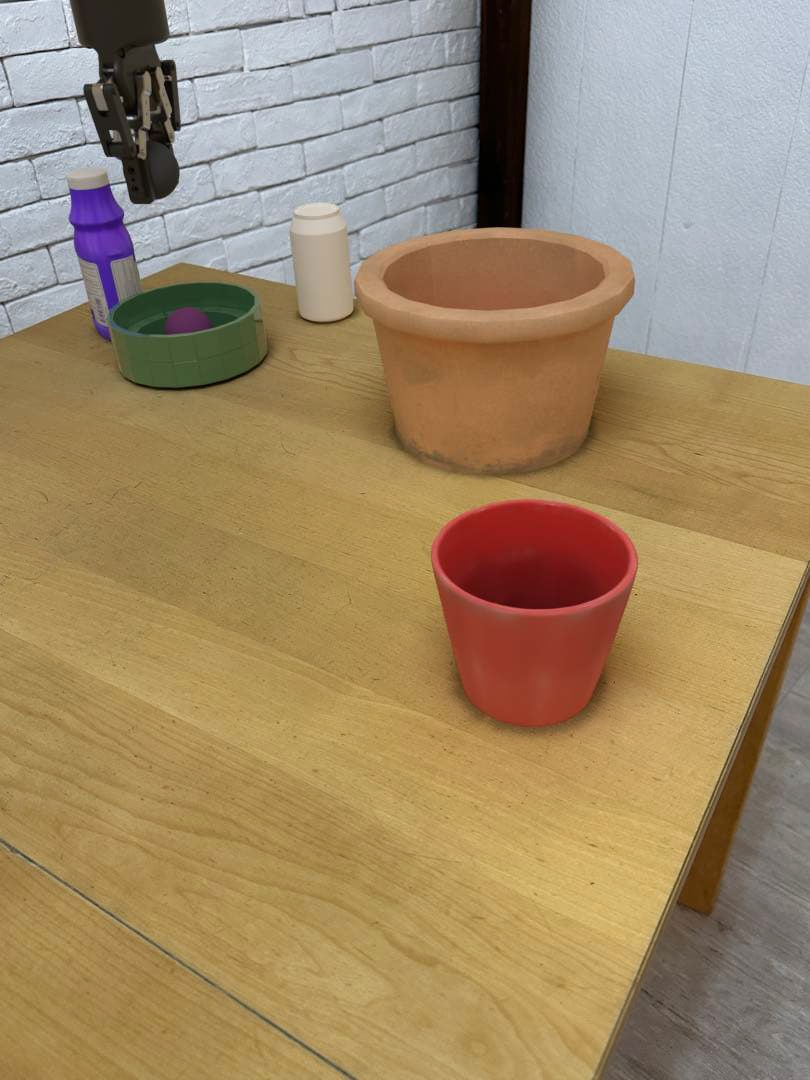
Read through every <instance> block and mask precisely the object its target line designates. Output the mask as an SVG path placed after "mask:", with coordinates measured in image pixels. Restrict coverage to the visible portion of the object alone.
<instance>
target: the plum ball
mask: <svg viewBox="0 0 810 1080" xmlns="http://www.w3.org/2000/svg"><path fill="white" fill-rule="evenodd" d="M211 328H213V325H212V322H211V320H210V319H209V318H208V316H207V315H206V314H205V313H203V312H202V311H200V310H198V309H195V308H190V307H186V308H180V309H178V310H176V311H174V312H173V313H172V314H171V315H170V316H169V317H168V319H167V321H166V323H165V326H164V335H173V334H183V333H193V332H198V331H202V330H207V329H211Z"/></svg>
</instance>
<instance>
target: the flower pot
mask: <svg viewBox="0 0 810 1080" xmlns="http://www.w3.org/2000/svg"><path fill="white" fill-rule="evenodd" d="M430 562H431V566H432V567H431V568H432V573H433V577H434V580H435V585H436V588H437V593H438V596H439V600H440V604H441V608H442V613H443V617H444V621H445V624H446V629H447V634H448V638H449V642H450V645H451V649H452V652H453V656H454V661H455V663H456V667H457V670H458V674H459V677H460V681H461V684H462V688H463V690H464V693H465V695H466V697H467V699H468V700H469V701H470V702H471V703H472V704H473V705H474V706H475V708H477V709H478V710H479V711H481V712H482V713H483V714H485V715H487V717H489V718H491V719H494V720H496V721H499V722H502V723H505V724H507V725H512V726H517V727H524V728H525V727H527V728H537V727H538V728H539V727H547V726H552V725H553V726H554V725H557V724H560V723H563V722H566V721H568V720H570V719H571V718H573V717H575V716H576V715H578V714H579V713H580V712H581V711H582V710H584V709H585V708H586V706H587V705H588V704H589V702H590V700H591V698H592V697H593V694H594V692H595V689H596V687H597V684H598V683H599V680H600V678H601V675H602V673H603V671H604V668H605V665H606V663H607V660H608V657H609V655H610V653H611V649H612V647H613V643H614V642H615V640H616V636H617V633H618V631H619V627H620V625H621V622H622V619H623V616H624V614H625V610H626V608H627V605H628V602H629V599H630V596H631V594H632V590H633V587H634V583H635V581H636V577H637V573H638V568H639V556H638V552H637V550H636V547H635V545H634V543H633V541H632V539H631V538H630V537H629V535H628V534H627V533H626V532H625V531H624V530H623V529H622V528H621V527H620V526H618V525H617V524H616V523H615V522H613V521H612V520H610V519H609V518H607V517H605V516H603V515H601V514H599V513H597V512H595V511H592V510H590V509H587V508H585V507H582V506H580V505H575V504H572V503H567V502H564V501H563V502H562V501H557V500H556V501H555V500H549V499H537V498H522V499H521V498H520V499H509V500H503V501H497V502H492V503H488V504H484V505H481V506H478V507H474V508H473V509H470V510H468V511H465V512H463V513H461V514H459V515H457V516H456V517H454V518H453V519H451V520H450V521H449V522H447V523H446V524H445V525H444V526H443V527H442V528H441V529H440V531H439V532H438V533H437V535H436V536H435V538H434V540H433V543H432V545H431V549H430Z"/></svg>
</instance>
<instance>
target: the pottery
mask: <svg viewBox="0 0 810 1080" xmlns="http://www.w3.org/2000/svg"><path fill="white" fill-rule="evenodd" d="M635 286H636V278H635V272H634V269H633V266H632V262H631V259H629V258H628V257H627V256H625V255H624V254H622V253H621V252H620V251H618V250H617V249H616V248H614V247H612V246H611V245H609V244H606V243H604V242H603V243H602V242H600V241H597V240H594V239H590V238H588V237H585V236H581V235H578V234H574V233H567V232H561V231H554V230H547V229H541V228H524V227H523V228H522V227H497V226H495V227H483V228H482V227H481V228H480V227H479V228H467V229H466V228H465V229H454V230H448V231H443V232H438V233H432V234H426V235H421V236H416V237H413V238H410V239H407V240H404V241H402V242H401V241H400V242H398V243H395V244H392V245H390V246H386V247H384V248H382V249H381V250H378V252H376V253H374V254H373V255H371V256H369V257H368V258H366V259H365V260H363V261H362V262H361V264H360V266H359V267H358V271H357V273H356V275H355V277H354V279H353V289H354V296H355V298H356V300H357V303H358V304H359V305H360V307H361V309H362V311H363V313H364V315H365V316H367V317H369V318H370V319H372V323H373V326H374V331H375V336H376V341H377V346H378V349H379V354H380V355H379V356H380V360H381V365H382V369H383V373H384V377H385V383H386V387H387V392H388V393H387V394H388V397H389V401H390V406H391V412H392V416H393V421H394V425H395V434H396V436H397V437H398V439H399V442H400V444H401V445H402V446H401V447H402V448H403V449H404V450H405V451H407V452H408V453H410V454H411V455H413V456H414V457H415V458H417V459H418V460H419V461H421V462H422V463H425V464H428V465H431V466H434V467H437V468H440V469H444V470H446V471H449V472H452V473H462V474H468V475H469V474H471V475H478V476H479V475H480V476H487V477H489V476H501V475H514V474H516V475H517V474H525V473H528V472H529V473H530V472H532V471H536V470H539V469H543V468H547V467H550V466H555V465H556V464H558V463H560V462H561V461H563V460H564V459H567V458H568V457H570V456H572V455H573V454H575V453H576V452H578V451H579V449H580V448H581V446H582V445H583V443H584V442H585V440H586V439H587V437H589V428H590V424H591V420H592V416H593V411H594V407H595V403H596V399H597V395H598V390H599V386H600V382H601V378H602V374H603V370H604V369H603V368H604V365H605V361H606V356H607V352H608V348H609V343H610V341H611V340H610V339H611V335H612V331H613V327H614V323H615V319H616V316H618V315H620V313H621V312H622V311H623V310H624V308H625V307H626V305H627V304H628V303H629V302H630V300H631V299H632V298H633V296H634V294H635Z"/></svg>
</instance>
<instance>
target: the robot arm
mask: <svg viewBox="0 0 810 1080" xmlns="http://www.w3.org/2000/svg"><path fill="white" fill-rule="evenodd" d="M69 5H70V10H71V14H72V18H73V22H74V27H75V32H76V36H77V40H78V43H79V45H81V46H82V47H83V48H84V49H88V50H94V51H95V52H96V54H97V60H98V77H99V79H98V80H97V81H96V82H95V83H85V84H84V85H83V88H82V91H83V96H84V98H85V102H86V105H87V107H88V110H89V113H90V116H91V119H92V122H93V125H94V127H95V130H96V133H97V137H98V139H99V142H100V146H101V149H102V150H103V153H104V155H105V157H106V158H116V160H118V161H120V162H121V165H122V171H123V170H124V174H123V176H124V175H125V178H124V180H125V185H126V188H127V194H128V198H129V201H130V202H131V203H132V204H133V205H151V204H153V203H154V202H155V201H156V200H155V199H156V196H155V191H154V186H153V181H152V176H151V171H150V166H149V161H148V159H146V156H147V152H146V141H156V142H159V143H161V144H163V145H164V146H166V147H167V148H168V149H169V150H170V151H171V152H172V153H173V154H174V155H175V151H174V146H173V144H174V143H175V141H176V134H175V132H180V131H181V129H182V121H181V109H180V108H181V107H180V97H179V85H178V74H177V73H178V72H177V64H176V61H175V60H174V59H160V56H159V54H158V51H157V48H156V45H160V44H163V43H165V42H167V41H168V40H169V38H170V34H171V32H170V27H169V21H168V16H167V8H166V3H165V0H69ZM128 118H131V119H128ZM110 131H112V135H113V137H112V135H111V132H110ZM132 132H133V133H132ZM179 183H180V180H179V181H178V184H177V186H178V185H179Z"/></svg>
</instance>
